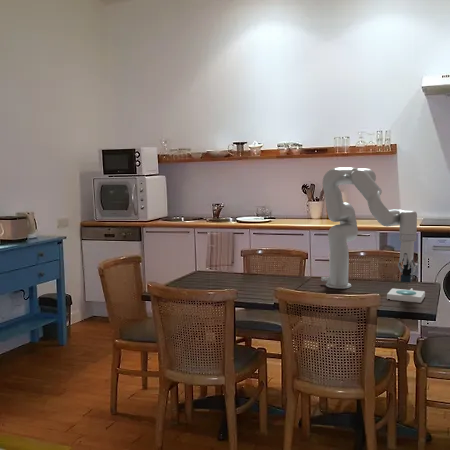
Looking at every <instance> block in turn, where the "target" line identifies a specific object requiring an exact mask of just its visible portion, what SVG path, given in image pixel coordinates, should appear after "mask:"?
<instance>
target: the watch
mask: <svg viewBox="0 0 450 450" xmlns="http://www.w3.org/2000/svg"><path fill="white" fill-rule="evenodd" d="M410 265H411V269H412V270H413V272H412V271H411V273H410V276H404V275H403V267H402V266H401V262H400V260H398V265H397V267H398V269H399V271H400V273H401V275H400V282H401V283H412V282H413V274H414V273H415V271H416V269H417V264H416V262H415V261H414V258H413V259H412V261H411V262H410Z"/></svg>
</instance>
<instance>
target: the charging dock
mask: <svg viewBox="0 0 450 450" xmlns="http://www.w3.org/2000/svg"><path fill="white" fill-rule="evenodd" d="M425 297H426V291H424V290H415V289H414V288H410V289H402V288H401V289H400V288H391V289H390V290H389V291H388V292H387V293H386V300H388V299H390V301H391V300H392V301H398V302H399V301H400V302H402V301H403V302H409V303H420V304H421V303H422V302H423V300H424V298H425Z"/></svg>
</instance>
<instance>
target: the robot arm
mask: <svg viewBox="0 0 450 450" xmlns="http://www.w3.org/2000/svg"><path fill="white" fill-rule="evenodd" d="M376 181H377V175H376V173H375V171H374V170H372V169H371V168H359V167H358V168H357V167H334V168H331V169H329V170H328V171H327V172H325V174H324V176H323V178H322V189H323V193H324V199H325V206H326V212H327V217H328V219H329V220H330V222H333V223H339V224H335V225H333V226H331V227H330V228H329V230H328V232H327V237H328V238H327V239H328V246H329V260H328V261H329V263H328V264H329V269H328V270H329V272H328V275H329V276H327V277H325V276H321V278H320V280H321V281H322V282H326V283H325V286H326V287H327V288H330V289H341V290H342V289H343V290H344V289H350V288H351V287H352V284H351V283H349V263H350V262H349V260H350V259H349V251H350V250H349V246H348V244H347V243H350V242H353V241H355V240H356V239H357V237H358V233H359V229H358V223H357V217H356V211H355V208H354V206H353V205H352V204H351V203H349V202H344V201H343V194H342V191H341V189H340V187H339V186H340V185H341V186H344V185H353V186H355V188H356V190H357V191H358V192H359V193H360V194H361V195H362V196H363V197H364V200H366V201H367V205H368V209H369V211H370V213H371V215H372V216H373V217H374V218H375V220H377V222H378V223H379V224H380V225H382V226H384V227H393V226H399V236H398V238H399V239H398V241H400V248H399V261H400V263H402V270H403V273H402V274H403V275H404V276H410V273H412V267H411V265H410V262H411V261H412V259H413V260H414V253H415V246H414V245H415V242H417V232H418V231H417V230H418V228H417V227H418V214H417V212H416V211H415V210H402V209H399V208H398V209H388V208H387V207H386V205H385V204H384V203H383V202H382V200H381V195H382V193H383V190H382V188H381V187H380V186H379V184H377V182H376Z"/></svg>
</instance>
